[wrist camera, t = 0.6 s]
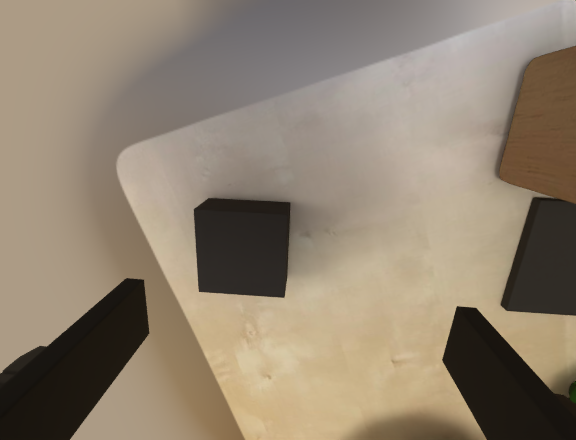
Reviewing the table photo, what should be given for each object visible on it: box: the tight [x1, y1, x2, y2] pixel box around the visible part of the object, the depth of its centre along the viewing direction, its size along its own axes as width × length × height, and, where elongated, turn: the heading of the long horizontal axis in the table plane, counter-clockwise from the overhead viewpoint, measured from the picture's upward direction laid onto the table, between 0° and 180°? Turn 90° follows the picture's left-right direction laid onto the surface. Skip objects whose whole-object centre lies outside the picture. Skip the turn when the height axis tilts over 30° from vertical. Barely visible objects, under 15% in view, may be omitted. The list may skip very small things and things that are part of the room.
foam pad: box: [194, 198, 290, 298], centre depth 28 cm, size 8×8×4 cm
